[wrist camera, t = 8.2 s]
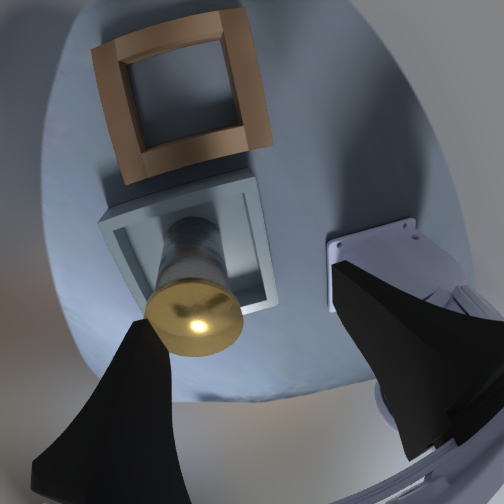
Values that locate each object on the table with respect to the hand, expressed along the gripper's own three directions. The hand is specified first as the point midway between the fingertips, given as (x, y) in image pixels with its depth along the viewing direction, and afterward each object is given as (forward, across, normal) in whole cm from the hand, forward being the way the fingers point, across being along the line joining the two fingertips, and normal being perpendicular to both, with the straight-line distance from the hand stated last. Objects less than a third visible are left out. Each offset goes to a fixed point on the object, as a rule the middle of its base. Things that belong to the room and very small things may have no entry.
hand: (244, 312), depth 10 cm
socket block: (+10, 0, -8) cm, 13 cm away
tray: (+10, +2, +2) cm, 11 cm away
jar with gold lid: (+10, +2, +2) cm, 10 cm away
